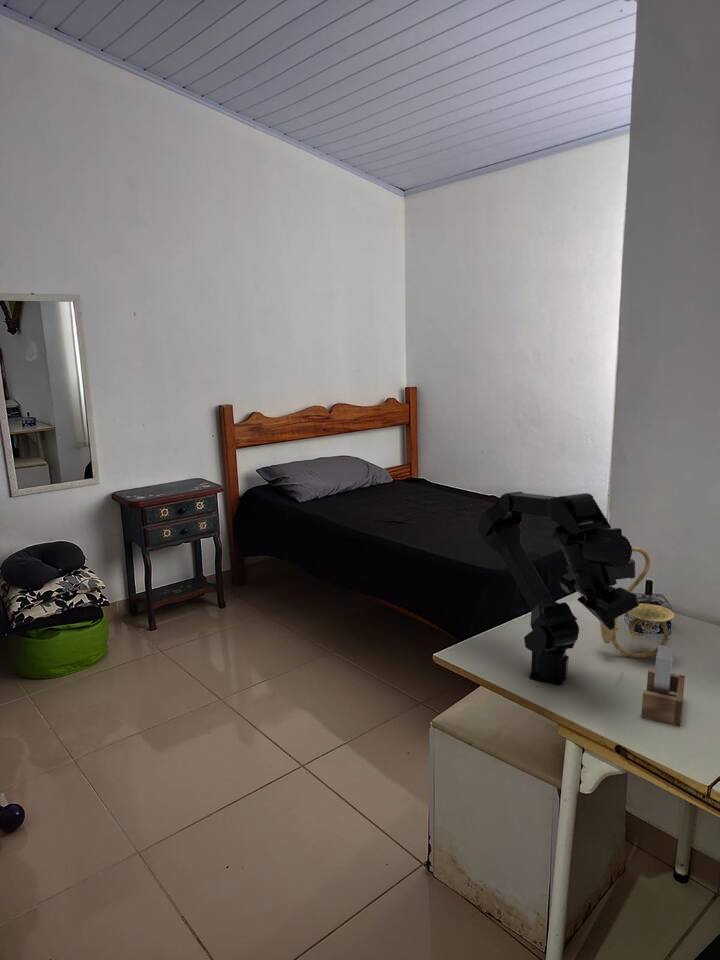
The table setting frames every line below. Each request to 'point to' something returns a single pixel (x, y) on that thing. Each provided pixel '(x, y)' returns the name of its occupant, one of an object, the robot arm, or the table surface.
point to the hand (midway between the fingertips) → (611, 628)
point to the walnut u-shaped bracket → (663, 701)
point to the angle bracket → (663, 671)
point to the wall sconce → (640, 617)
